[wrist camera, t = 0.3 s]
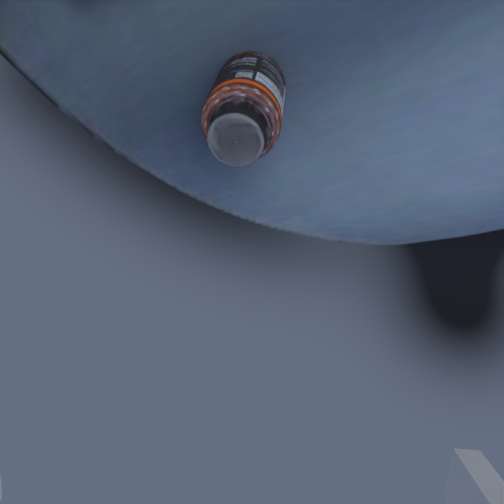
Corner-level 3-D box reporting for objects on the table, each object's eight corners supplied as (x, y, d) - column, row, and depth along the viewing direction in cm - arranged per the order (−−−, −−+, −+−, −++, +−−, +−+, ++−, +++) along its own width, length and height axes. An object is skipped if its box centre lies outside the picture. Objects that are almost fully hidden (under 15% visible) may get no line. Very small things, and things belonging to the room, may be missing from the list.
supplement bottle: (240, 128, 41) (219, 192, 32) (206, 69, 38) (173, 123, 29) (298, 100, 38) (292, 161, 30) (267, 35, 35) (251, 82, 27)
